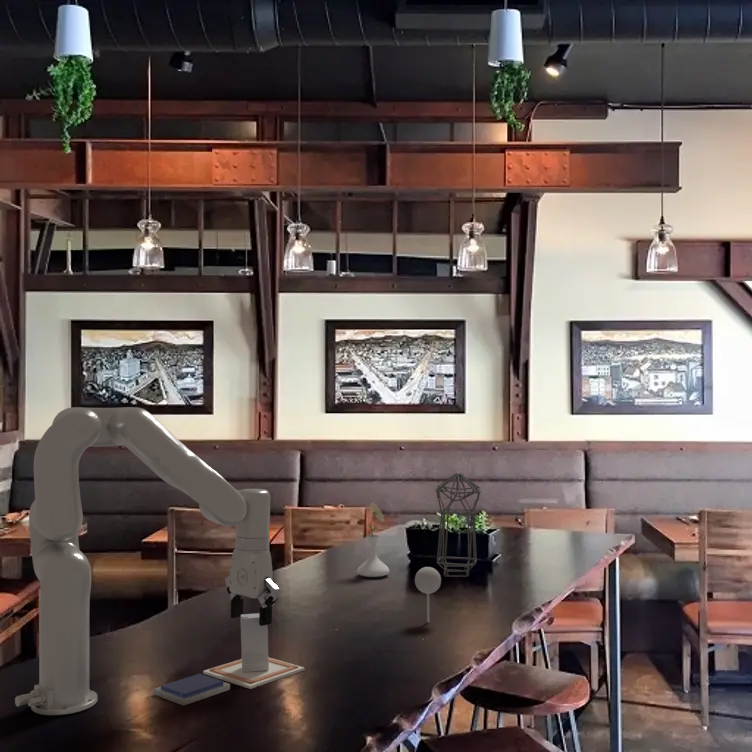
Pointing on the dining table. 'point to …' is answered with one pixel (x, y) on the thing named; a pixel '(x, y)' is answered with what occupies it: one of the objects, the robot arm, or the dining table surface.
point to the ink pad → (191, 689)
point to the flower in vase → (373, 552)
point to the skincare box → (253, 644)
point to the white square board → (253, 673)
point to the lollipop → (427, 583)
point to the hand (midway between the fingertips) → (250, 620)
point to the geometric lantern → (475, 490)
